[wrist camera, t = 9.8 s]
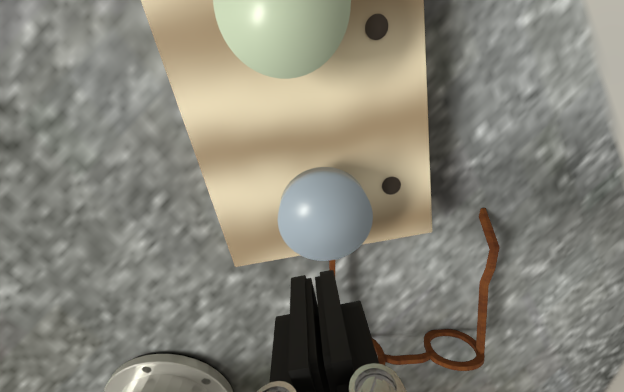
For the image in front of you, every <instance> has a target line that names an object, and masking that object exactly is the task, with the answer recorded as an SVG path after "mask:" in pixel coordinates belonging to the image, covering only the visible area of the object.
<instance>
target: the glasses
mask: <svg viewBox="0 0 624 392" xmlns="http://www.w3.org/2000/svg"><path fill="white" fill-rule="evenodd" d="M479 219H480V222H481V225H482V228H483V231H484V234H485V237H486V240H487V243H488V246H489V249H490V250H489V255H488V259H487V264H486V268H485V270H484V273H483V275H482V278H481V280H480V287H479V304H478V322H477V340H474V339H473V338H472V337H470V336H469V335H467V334H465V333H463V332H460V331H457V330H452V329H442V330H432V331H430V332H428V333H426V334H425V336H424V347H425V350H426V353H423V354H417V355H401V356H391V355H386V354H384V352H383V350H382V348H381V346H380V345H379V344H378V343H377V341H376V340H374V339H373V338H372V341H373V344H374V347H375V351H376V353H377V355H378V361H379V364H382V365H385V362H388V363H391V364H396V365H401V364H417V363H424V362H426V361H428V360H430V359H431V360H432V361H433V362H434V363H436V364H438V365H441V366H443V367H446V368H448V369H452V370H458V371H469V370H474V369H477V368H479V367H481V366H482V365H483V363H484V357H485V356H484V349H485V333H486V317H487V301H488V285H489V283H490V280H491V278H492V276H493V273H494V271H495V268H496V262H497V257H498V252H499V244H498V242H497V239H496V236H495V233H494V230H493V228H492V225H491V222H490V219H489V216H488V213H487V211H486V208H481V210H480V214H479ZM329 268H330V270H333V271H334V275H335V260H329ZM439 336H452V337H456V338H459V339H462V340H464V341H465V342H467V343H468V344H469V345H470V346H471V347H472V348H473V349H474V351H475V352H476V357H475V358H474V359H473V360H470V361H466V362H456V361H451V360H448V359H445V358H443V357H441V356H439V355H438V354H437V353H436V352H435V351H434V350H433V348H432V346H431V343H430V342H431V340H432V339H433V338H436V337H439Z"/></svg>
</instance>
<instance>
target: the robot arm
mask: <svg viewBox="0 0 624 392" xmlns="http://www.w3.org/2000/svg"><path fill="white" fill-rule="evenodd" d="M315 281H316V291H317V301H318V305H317V301H316V297H315V292H314V288H313V284H312V279H311V278H308V279H306V276H305V275H303V276H298V277H293V278H291V297H290V314H288V315H283V316H277V317H276V320H275V330H274V340H273V351H272V362H271V373H270V383H268V384H266V385H264V386H263V387H262V388H260V389H259V390H258V391H257V392H407V391H406V389H405V387H404V385H403V383H402V382H401V380H400V378H399V377H398V375H397V374H396V373H395V372H394V371H393V370H392V369H390V368H389V367H387V366H385V365H382V364H379V361H378V357H377V354H376V351H375V347H374V344H373V341H372V337H371V334H370V331H369V327H368V324H367V321H366V318H365V314H364V311H363V308H362V304H361V302H360V301H356V302H351V303H345V304H340V300H339V295H338V290H337V285H336V280H335V275H334V271H333V270H329V271H324V272H320V276H318V277H315ZM104 392H233V390H232V388H231V386H230V384H229V383H228V381H227V380H226V379H225V377H224V376H223V375H221V374H220V373H219V372H218V371H217V370H216V369H214V368H212V367H211V366H209V365H208V364H206V363H203V362H201V361H199V360H196V359H193V358H190V357H186V356H182V355H175V354H152V355H145V356H142V357H138V358H135V359H132V360H130V361H128V362H126V363H124V364H123V365H122V366H120V367H119V368H118V369H117V370H116V371H115V372H114V374H113V375H112V376H111V378H110V380H109V381H108V383H107V385H106V387H105V389H104Z"/></svg>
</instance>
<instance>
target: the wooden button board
mask: <svg viewBox="0 0 624 392" xmlns="http://www.w3.org/2000/svg"><path fill="white" fill-rule="evenodd" d="M141 2H142V5H143V8H144V11H145V13H146V16H147V19H148V22H149V25H150V27H151V30H152V33H153V36H154V39H155V42H156V44H157V47H158V50H159V53H160V56H161V59H162V61H163V64H164V67H165V70H166V73H167V75H168V78H169V81H170V84H171V87H172V90H173V92H174V95H175V98H176V101H177V104H178V107H179V109H180V112H181V115H182V118H183V121H184V124H185V126H186V129H187V132H188V135H189V138H190V140H191V143H192V146H193V149H194V152H195V155H196V157H197V160H198V163H199V166H200V169H201V172H202V174H203V177H204V180H205V183H206V186H207V188H208V191H209V194H210V197H211V200H212V203H213V205H214V208H215V211H216V214H217V217H218V220H219V222H220V225H221V228H222V231H223V234H224V236H225V239H226V242H227V245H228V248H229V251H230V253H231V256H232V259H233V262H234V265H235V267H238V266H243V265H249V264H255V263H260V262H266V261H272V260H277V259H283V258H289V257H294V256H300V255H299V254H298V253H296V252H294V251H293V250H292V249H291V248H290V247H289V246H288V245H287V244H286V243H285V241H284V240H283V238H282V236H281V234H280V231H279V227H278V212H279V207H280V201H281V197H282V194H283V192H284V190H285V188H286V186H287V185H288V184H289V183H290V181H291V180H292V179H293V178H295V177H296V176H297V175H299V174H300V173H302V172H304V171H306V170H309V169H312V168H316V167H333V168H337V169H340V170H343V171H345V172H347V173H349V174H350V175H352V176H353V177H354V178H355V179H356V180H357V181H358V182H359V183H360V185H361V186H362V188H363V190H364V192H365V194H366V196H367V198H368V200H369V201H370V204H371V207H372V212H373V221H372V227H371V230H370V233H369V235H368V237H367V238H366V240H365V241H364V242H363V244H368V243H373V242H379V241H385V240H390V239H396V238H402V237H407V236H413V235H418V234H424V233H430V232H432V214H431V187H430V160H429V133H428V106H427V79H426V52H425V25H424V0H351V10H350V17H349V22H348V26H347V29H346V32H345V35H344V37H343V40H342V41H341V43H340V45H339V47H338V48H337V50H336V51H335V53H334V54H333V55H332V56H331V58H330V59H329V60H328V61H327V62H326V63H324V64H323V65H322V66H321V67H320V68H318V69H316V70H315V71H313V72H311V73H309V74H307V75H304V76H301V77H297V78H290V79H280V78H273V77H269V76H266V75H263V74H261V73H258V72H256V71H254V70H253V69H251V68H249V67H248V66H247V65H245V64H244V63H243V62H242V61H241V60H240V59H239V58H238V57H237V56H236V55H235V54H234V53H233V52H232V50H231V49H230V48H229V46H228V45H227V43H226V41H225V40H224V38H223V36H222V34H221V32H220V29H219V26H218V23H217V20H216V16H215V12H214V5H213V0H141Z"/></svg>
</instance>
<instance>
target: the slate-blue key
mask: <svg viewBox="0 0 624 392" xmlns="http://www.w3.org/2000/svg"><path fill="white" fill-rule="evenodd" d="M372 221H373V212H372V207H371V204H370V201H369V200H368V198H367V196H366V194H365V192H364V190H363V188H362V186H361V185H360V183H359V182H358V181H357V180H356V179H355V178H354V177H353V176H352V175H350V174H349V173H347V172H345V171H343V170H340V169H337V168H333V167H316V168H312V169H309V170H306V171H304V172H302V173H300V174H299V175H297V176H296V177H295V178H293V179H292V180H291V181H290V183H289V184H288V185H287V186H286V188H285V190H284V192H283V194H282V197H281V201H280V207H279V212H278V227H279V231H280V234H281V236H282V238H283V240H284V241H285V243H286V244H287V245H288V246H289V247H290V248H291V249H292V250H293V251H294V252H296V253H298V254H299V255H301V256H303V257H306V258H309V259H312V260H319V261H329V260H335V259H339V258H342V257H345V256H347V255H349V254H351V253H352V252H354V251H355V250H356V249H358V248H359V247H360V246H361V245H362V244H363V242H364V241H365V240H366V238H367V237H368V235H369V233H370V230H371V227H372Z"/></svg>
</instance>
